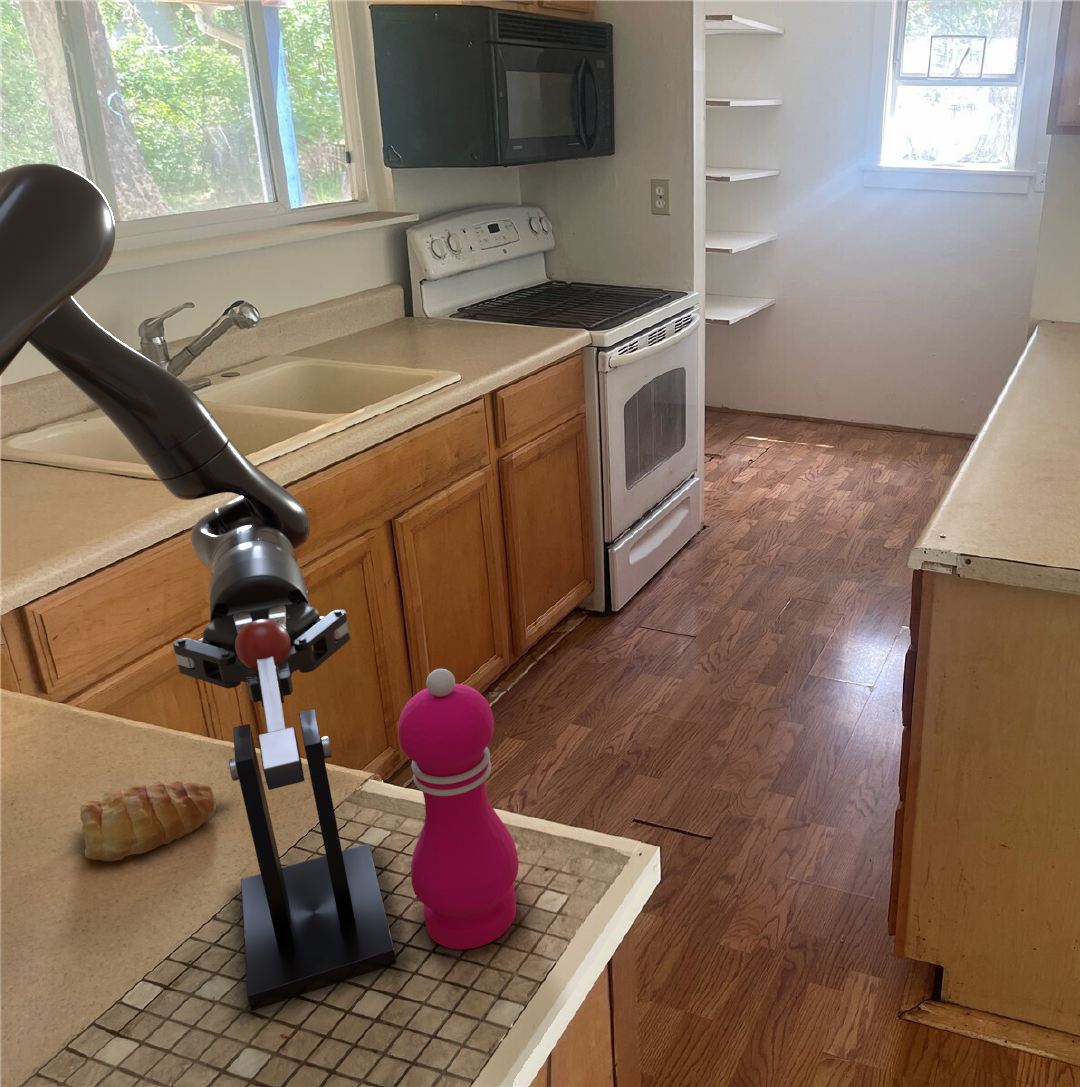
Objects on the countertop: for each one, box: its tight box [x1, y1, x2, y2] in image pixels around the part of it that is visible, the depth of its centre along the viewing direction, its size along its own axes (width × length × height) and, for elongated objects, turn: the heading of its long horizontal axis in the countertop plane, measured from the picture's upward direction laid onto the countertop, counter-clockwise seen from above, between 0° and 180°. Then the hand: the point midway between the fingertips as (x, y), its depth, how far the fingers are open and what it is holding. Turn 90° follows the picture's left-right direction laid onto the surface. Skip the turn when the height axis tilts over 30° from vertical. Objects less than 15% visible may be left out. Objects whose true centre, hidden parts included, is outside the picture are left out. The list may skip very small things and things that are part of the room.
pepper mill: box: [397, 668, 520, 950], centre depth 68 cm, size 7×7×20 cm
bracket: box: [228, 709, 397, 1011], centre depth 68 cm, size 12×9×16 cm
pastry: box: [79, 780, 217, 862], centre depth 80 cm, size 9×7×4 cm
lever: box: [235, 619, 305, 791], centre depth 69 cm, size 13×4×4 cm, turn 26°
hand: (271, 693), depth 72 cm, fingers closed
